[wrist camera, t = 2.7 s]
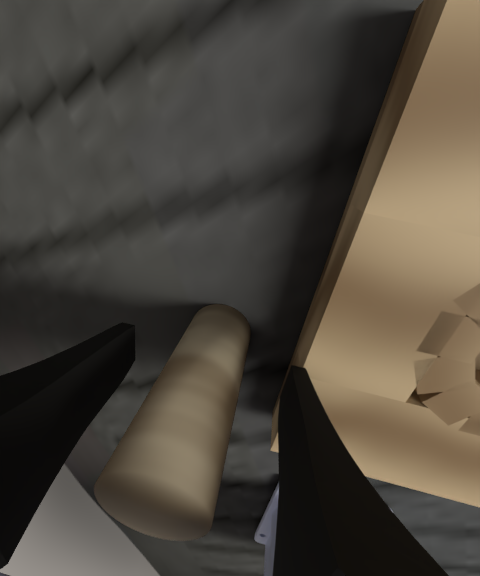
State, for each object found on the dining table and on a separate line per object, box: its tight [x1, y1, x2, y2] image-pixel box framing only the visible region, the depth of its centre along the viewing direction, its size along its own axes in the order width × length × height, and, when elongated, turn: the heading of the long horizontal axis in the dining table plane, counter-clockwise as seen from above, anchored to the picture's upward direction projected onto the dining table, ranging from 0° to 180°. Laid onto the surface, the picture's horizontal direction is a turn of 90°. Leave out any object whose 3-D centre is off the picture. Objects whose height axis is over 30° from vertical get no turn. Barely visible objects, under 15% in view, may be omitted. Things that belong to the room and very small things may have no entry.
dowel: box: [94, 304, 251, 541], centre depth 10 cm, size 3×3×8 cm
